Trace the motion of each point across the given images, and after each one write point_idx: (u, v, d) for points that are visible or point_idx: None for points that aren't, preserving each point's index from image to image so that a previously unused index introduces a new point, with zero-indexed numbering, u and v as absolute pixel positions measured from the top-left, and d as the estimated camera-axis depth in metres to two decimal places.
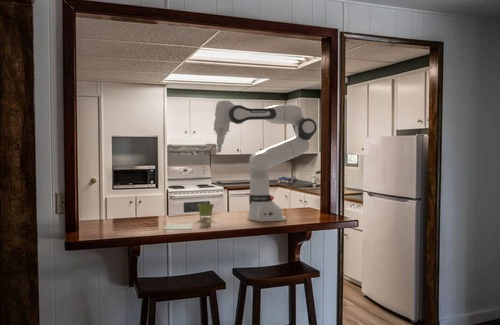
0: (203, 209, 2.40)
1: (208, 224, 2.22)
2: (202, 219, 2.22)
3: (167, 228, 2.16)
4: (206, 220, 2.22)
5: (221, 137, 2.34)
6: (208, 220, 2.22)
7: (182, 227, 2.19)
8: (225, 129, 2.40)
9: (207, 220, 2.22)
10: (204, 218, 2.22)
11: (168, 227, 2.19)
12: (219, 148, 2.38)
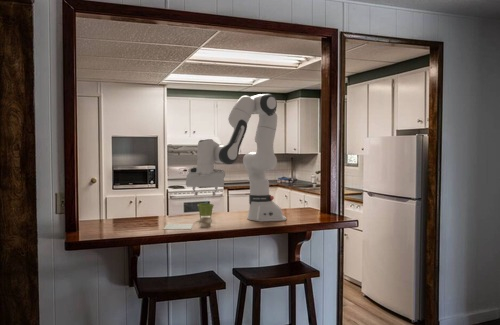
0: (203, 209, 2.40)
1: (208, 224, 2.22)
2: (202, 219, 2.22)
3: (167, 228, 2.16)
4: (206, 220, 2.22)
5: None
6: (208, 220, 2.22)
7: (182, 227, 2.19)
8: None
9: (207, 220, 2.22)
10: (204, 218, 2.22)
11: (168, 227, 2.19)
12: None
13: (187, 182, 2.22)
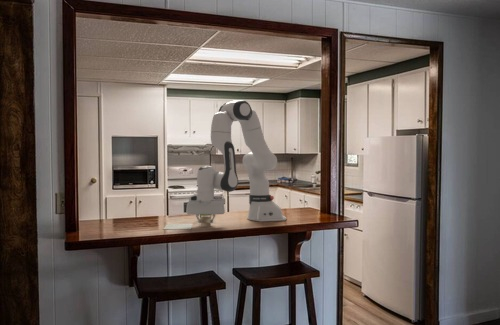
0: None
1: (208, 224, 2.22)
2: (202, 218, 2.22)
3: (167, 228, 2.16)
4: (206, 220, 2.22)
5: None
6: (208, 220, 2.22)
7: (182, 227, 2.19)
8: None
9: (207, 220, 2.22)
10: (204, 218, 2.22)
11: (168, 227, 2.19)
12: (213, 218, 2.25)
13: (187, 210, 2.22)
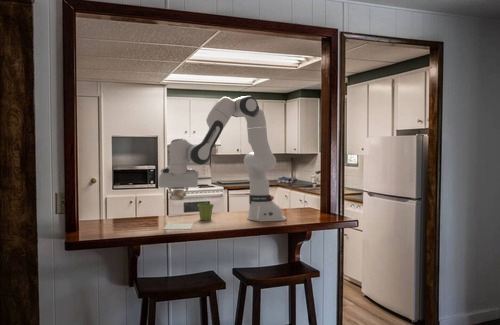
0: (203, 209, 2.40)
1: (181, 197, 2.19)
2: (175, 191, 2.19)
3: (167, 228, 2.16)
4: (178, 193, 2.19)
5: (197, 180, 2.22)
6: (181, 193, 2.19)
7: (182, 227, 2.19)
8: None
9: (180, 193, 2.19)
10: (176, 191, 2.19)
11: (168, 227, 2.19)
12: (186, 191, 2.22)
13: (160, 183, 2.19)
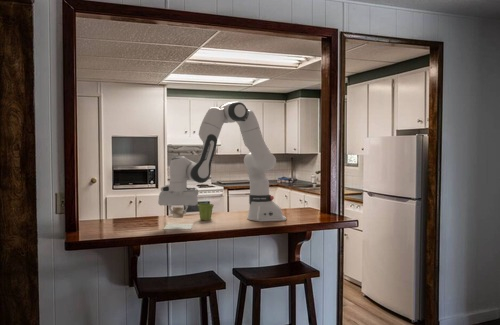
0: (203, 209, 2.40)
1: (180, 215, 2.19)
2: (174, 209, 2.19)
3: (167, 228, 2.16)
4: (178, 211, 2.19)
5: None
6: (180, 211, 2.19)
7: (182, 227, 2.19)
8: None
9: (179, 211, 2.19)
10: (176, 209, 2.19)
11: (168, 227, 2.19)
12: (186, 209, 2.22)
13: (160, 201, 2.19)
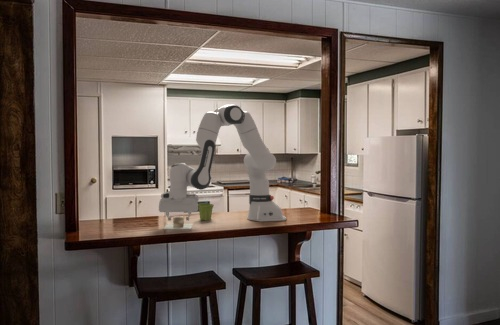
0: (203, 209, 2.40)
1: (181, 224, 2.20)
2: (175, 219, 2.19)
3: (167, 228, 2.16)
4: (179, 220, 2.20)
5: (197, 204, 2.23)
6: (181, 220, 2.20)
7: (182, 227, 2.19)
8: None
9: (180, 220, 2.20)
10: (177, 218, 2.19)
11: (168, 227, 2.19)
12: (189, 216, 2.22)
13: (160, 208, 2.19)
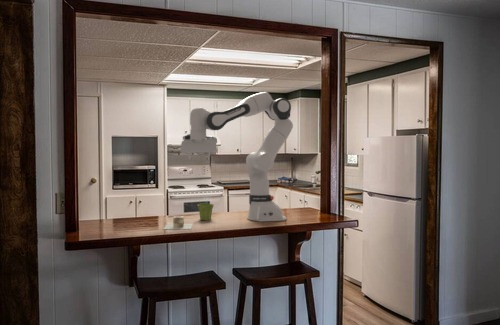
0: (203, 209, 2.40)
1: (181, 224, 2.20)
2: (175, 219, 2.19)
3: (167, 228, 2.16)
4: (179, 220, 2.20)
5: None
6: (181, 220, 2.20)
7: (182, 227, 2.19)
8: None
9: (180, 220, 2.20)
10: (177, 218, 2.19)
11: (168, 227, 2.19)
12: (209, 156, 2.41)
13: (182, 149, 2.38)
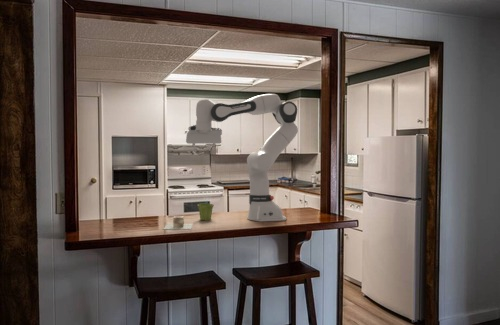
0: (203, 209, 2.40)
1: (181, 224, 2.20)
2: (175, 219, 2.19)
3: (167, 228, 2.16)
4: (179, 220, 2.20)
5: None
6: (181, 220, 2.20)
7: (182, 227, 2.19)
8: None
9: (180, 220, 2.20)
10: (177, 218, 2.19)
11: (168, 227, 2.19)
12: (213, 147, 2.46)
13: (187, 139, 2.43)
